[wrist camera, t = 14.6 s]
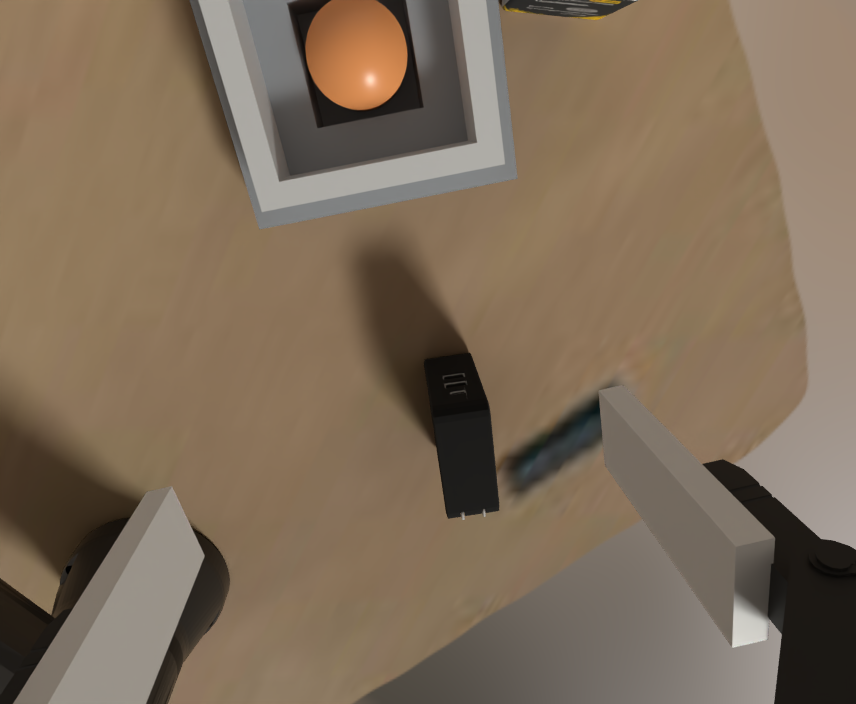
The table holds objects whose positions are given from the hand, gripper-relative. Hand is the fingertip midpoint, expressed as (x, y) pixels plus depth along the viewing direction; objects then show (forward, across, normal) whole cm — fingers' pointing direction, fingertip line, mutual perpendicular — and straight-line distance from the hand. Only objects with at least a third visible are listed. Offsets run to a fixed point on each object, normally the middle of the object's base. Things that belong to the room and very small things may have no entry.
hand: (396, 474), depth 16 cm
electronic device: (+30, +3, -14) cm, 33 cm away
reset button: (+28, +2, +14) cm, 31 cm away
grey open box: (+29, +2, +14) cm, 32 cm away
